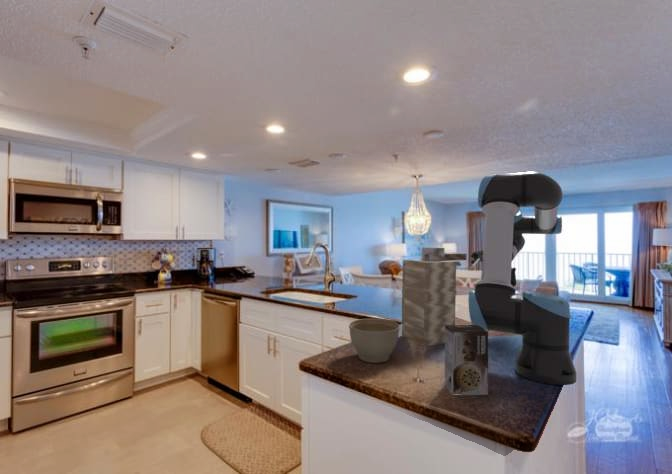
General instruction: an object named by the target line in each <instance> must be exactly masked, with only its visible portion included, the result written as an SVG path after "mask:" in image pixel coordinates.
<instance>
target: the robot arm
mask: <svg viewBox="0 0 672 474" xmlns="http://www.w3.org/2000/svg"><path fill="white" fill-rule="evenodd" d="M478 186H479V187H478V190H477V191H478V192H477V205H478V207H479V208H480V209H481V210H482V213H483V214H484V215H485V217H486V218H485V227H484V228H485V229H484V241H483V250H478V251H474V252H472V254H471V255H470V257H471V258H473V259H472V260H471V262H470V263H471V266H470V267H469V268H468V270H469V271H471V270H472V269H473V268H474V267H475V266H476V264H477V263H478V262H481V263H482V265H481V273H480V274H481V277H480V281H478V282H477V283H475V287H474V290H473V289H472V290H470V291H469V292H468V300H467V301H468V312H469V319H470V322H471V325H479V326H480V327H482V328H484V330H486V331H488V332H489V331H492V332H500V333H507V334H512V335H521V337H522V338H521V339H522V340H521V342H522V343H521V345H520V349H519V351H518V353H517V356H516V358H515V361H514V362H515V363H514V364H515V365H514V369H515V372H516V373H517V374H518V375H520V376H522V377H524V378H526V379H528V380H532V381H535V382H538V383H541V384H546V383H547V385H555V386H570V385H573V384H575V383H576V382H577V371H576V368H575V364H574V362H573V358H572V356H571V353H570V319H571V317H572V315H571V311H570V310H571V309H570V308H571V307H570V303H569V301H568V300H567V299H565V298H564V297H562V296H559V295H555V294H552V293H547V292H543V291H537V290H527V289H526V290H523V292H522V294H516V292H517V291H516V288H515V287H516V286H517V276H516V271H517V268H516V267H512V263H513V260H515V258H516V257H517V256H518V254H519V253H520V252H521V251H522V249H523V248H524V246H525V244H526V239H525V237H524V236H523V234H524V235H528V234H529V235H531V234H532V235H534V234H535V235H536V234H537V235H559V234H561V233H562V231H563V229H562V228H563V218H562V216H560V215H558V209H559V205H560V204H561V203H562V200H563V191H562V190H563V189H562V187H561V186H560V184H559V182H557V181H556V180H555V179H553V178H552V177H551V176H549V175H548V174H545V173H541V172H538V171H526V172H513V173H512V172H511V173H501V174H500V173H495V174H488V175H485V176H484V177H483V178H482V179H481V180H480V183H479V185H478ZM527 207H528V208H529V207H531V208H534V209H533V210H534V211H533V212H534V216H527V215H525V216H523V213H521V211H520V208H527Z"/></svg>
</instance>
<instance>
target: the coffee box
mask: <svg viewBox="0 0 672 474" xmlns="http://www.w3.org/2000/svg"><path fill="white" fill-rule="evenodd" d="M445 385H446V386H445ZM444 386H445V388H446V389H447V388H448V389H449V390H450V391H451V392H450V391H449V390H448V389H447V390H448V391H449V392H450V394H451V393H452V394H469V395H468V396H488V395H489V331H487V330H485V329H484V328H482V327H480V326H479V325H473V324H455V325H445V343H444ZM452 394H451V395H452Z"/></svg>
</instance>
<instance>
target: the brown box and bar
mask: <svg viewBox="0 0 672 474" xmlns="http://www.w3.org/2000/svg"><path fill="white" fill-rule="evenodd" d="M467 255H468V254H467V253H445V247H425V246H424V247H421V259H422V260H424V261H447V260H449V261H466V260H467Z"/></svg>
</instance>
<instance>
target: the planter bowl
mask: <svg viewBox="0 0 672 474" xmlns="http://www.w3.org/2000/svg"><path fill="white" fill-rule="evenodd" d="M400 326H401V325H400V324H399V323H398V322H396V321H392V320H388V319H380V318H362V319H361V318H360V319H356V320H353V321H351V322H349V323H348V327H349V336H350V341H351V344H352V346H353V348H354V350H355V351H356V352H357V354H358V358H359V359H360V360H361V361H363V362H366V363H373V364H378V363H384V362H385V363H386V362H388V360H390V355H391V354H392V353H393V351H394V350H395V347H396V346H397V343H398V339H399V331H400Z"/></svg>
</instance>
